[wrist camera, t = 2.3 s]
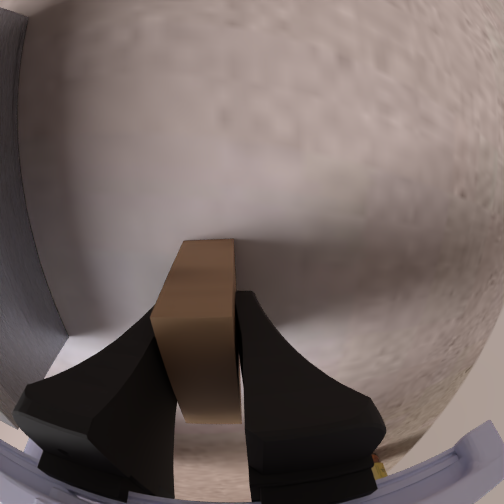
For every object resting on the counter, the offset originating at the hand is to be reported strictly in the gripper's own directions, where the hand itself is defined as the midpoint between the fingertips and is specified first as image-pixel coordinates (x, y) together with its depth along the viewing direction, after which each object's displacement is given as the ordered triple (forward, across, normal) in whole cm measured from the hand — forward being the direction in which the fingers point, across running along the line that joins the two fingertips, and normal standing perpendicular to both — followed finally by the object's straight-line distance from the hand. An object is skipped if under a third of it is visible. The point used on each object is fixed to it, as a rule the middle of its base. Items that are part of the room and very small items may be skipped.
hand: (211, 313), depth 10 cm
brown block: (+2, 0, 0) cm, 2 cm away
